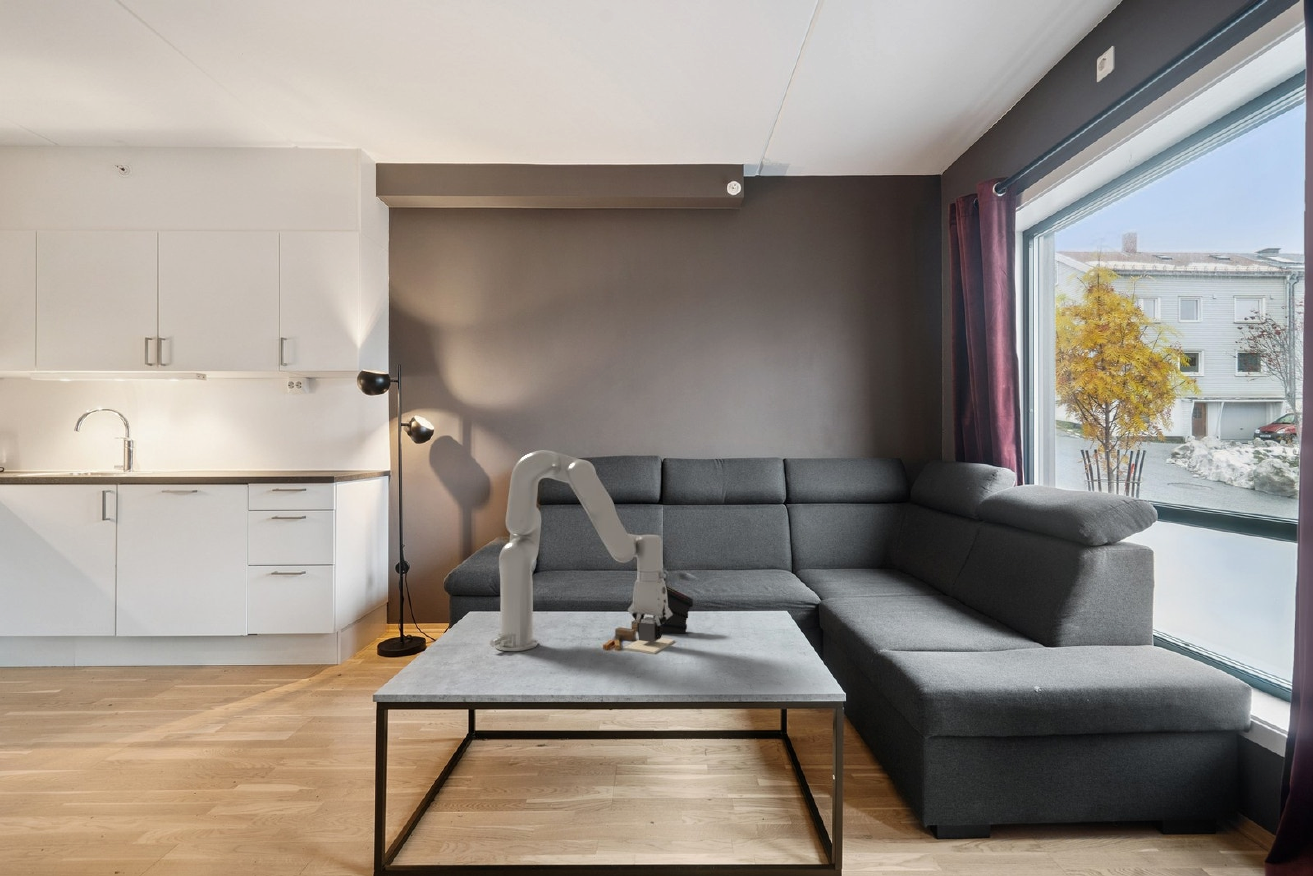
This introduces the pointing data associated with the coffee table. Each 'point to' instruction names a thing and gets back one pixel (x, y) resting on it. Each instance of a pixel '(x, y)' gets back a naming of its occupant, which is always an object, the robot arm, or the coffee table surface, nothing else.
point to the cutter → (612, 643)
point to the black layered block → (677, 612)
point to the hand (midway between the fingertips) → (649, 636)
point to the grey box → (647, 629)
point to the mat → (649, 645)
